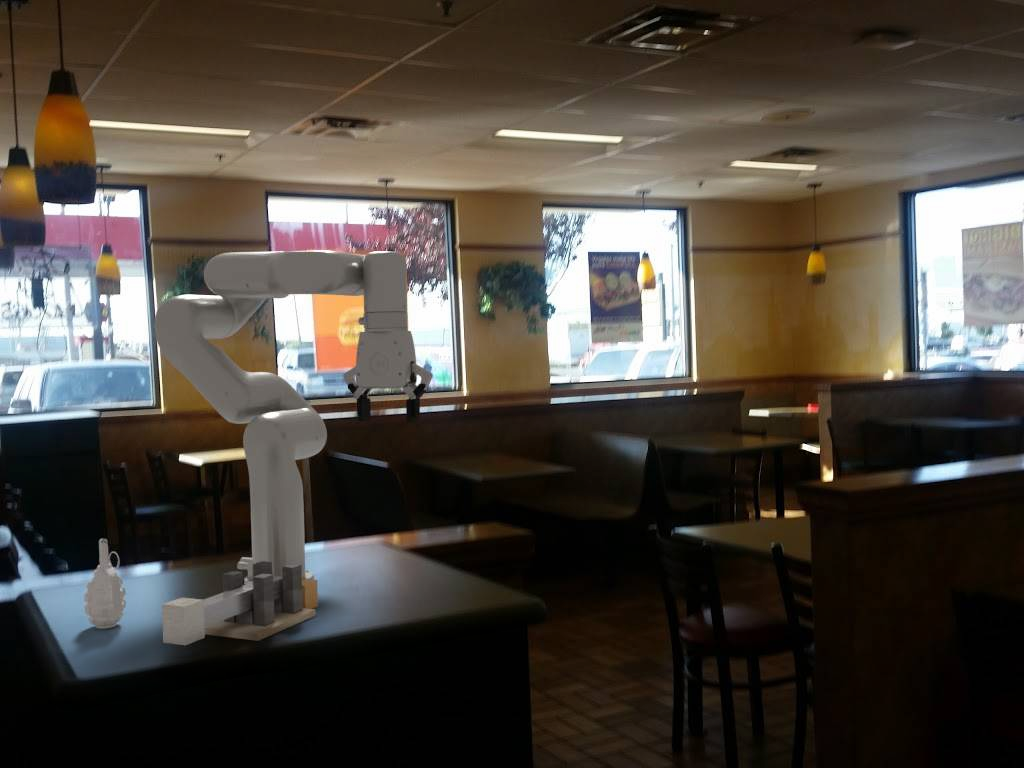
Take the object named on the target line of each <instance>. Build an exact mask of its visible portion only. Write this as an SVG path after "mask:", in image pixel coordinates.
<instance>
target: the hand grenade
mask: <svg viewBox="0 0 1024 768" xmlns="http://www.w3.org/2000/svg"><path fill="white" fill-rule="evenodd" d="M98 550H99V551H98V552H99V559H98V561H99V564H98V565H97V567H96V569H95V570H94V571H93V577H92V578H90V580H89V581H88V582H87V584H86V589H87V591H86V592H85V593H84V597H83V601H84V602H86V605H85V606H84V613H85V615H87V616H89V617H88V619H87V621H88V622H89V624H91V625H93V626H95V628H96V629H99V630H101V629H103V630H104V629H110V628H114V627H116V626H117V625H118V622H120V621H121V619H122V618H123V616H124V613H123V612H124V609H125V608H126V606H127V600H126V599H124V598H125V596H126V594H127V593H126V588H125V587H124V586H123V585H122V584H123V583H124V582H123V580H122V577H121V576H119V574H118V573H117V571H116V570H118V569H119V567H120V563H121V562H120V557H119V555H118V553H117V552H116V551H111V552H110V553H109V545H108V539H107V538H100V539H99V540H98ZM112 554H115V555H116V557H117V560H118V561H117V564H116V567H114V565H112V561H111V555H112Z"/></svg>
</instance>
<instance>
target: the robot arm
mask: <svg viewBox="0 0 1024 768" xmlns="http://www.w3.org/2000/svg"><path fill="white" fill-rule="evenodd" d="M407 271H408V270H407V259H406V257H405V255H404V254H403V253H402V252H399V251H390V250H388V251H385V250H384V251H381V250H379V251H378V250H377V251H372V252H368V253H366V254H360V253H354V252H353V253H351V252H346V251H345V252H344V251H337V250H336V251H335V250H293V251H292V250H290V251H288V250H287V251H284V250H280V251H276V250H275V251H243V252H241V251H239V252H224V253H220V254H217V255H215V256H213V257H212V258H211V259H209V260H208V262H207V263H206V265H205V267H204V271H203V279H204V283H205V285H206V287H207V288H208V289H209V290H210V291H211V292H212V293H213V294H215V295H212V294H211V295H207V294H206V295H205V294H181V295H175V296H172V297H170V298H167V299H166V300H164V301H163V302H162V303H161V304H160V305H159V307H158V308H157V310H156V312H155V317H154V334H155V338H156V342H157V345H158V347H159V349H160V350H161V353H162V355H163V356H164V357H165V359H167V361H168V362H169V363H170V364H171V365H172V366H173V367H174V368H175V369H176V370H177V371H178V372H179V373H181V375H182V376H184V377H185V378H186V379H187V380H188V381H189V383H191V384H192V386H193V387H194V388H195V389H196V390H197V392H198V393H199V394H201V396H202V397H203V398H204V399H205V400H206V401H207V402H208V404H210V405H211V406H212V407H213V409H214V410H215V411H216V413H218V414H219V415H220V416H221V417H222V418H223V419H225V421H227V422H228V423H231V424H236V425H237V424H238V425H241V424H242V425H244V424H247V425H246V427H245V430H244V432H243V436H242V437H243V438H242V439H243V440H242V443H243V444H242V445H243V450H244V455H245V459H246V463H247V468H248V476H249V477H248V479H249V495H250V497H249V498H250V499H249V500H250V523H251V524H250V525H251V529H250V530H251V557H248V556H247V557H245V556H242V557H241V558H240V559H239V562H237V564H236V567H237V569H238V570H247V575H246V576H245V577H244V578H243V585H246V584H248V583H251V582H253V564H255V563H258V562H261V561H265V562H272V575H273V576H282V567H283V566H286V565H289V564H300V565H301V570H302V579H309V580H315V574H314V572H313V571H310V570H307V569H306V555H305V554H306V551H305V549H306V548H305V545H306V544H305V540H306V539H305V512H304V511H305V510H304V509H305V508H304V507H305V506H304V504H305V503H304V487H303V479H302V477H301V476H302V475H301V473H300V471H299V468H298V465H297V463H296V461H298V460H303V459H307V458H311V457H313V456H315V455H317V454H319V453H320V452H321V451H322V450H323V448H324V447H325V445H326V444H327V443H326V442H327V438H328V431H327V428H326V424H325V422H324V419H323V417H321V415H320V414H319V413H318V412H317V410H315V409H314V407H313V406H312V405H311V404H310V403H309V402H308V401H307V400H306V399H305V398H304V397H303V396H302V395H301V394H300V393H299V392H298V391H297V390H296V389H295V388H294V387H293V386H292V385H291V384H290V383H289V382H288V381H287V380H286V379H285V378H283V377H281V376H279V375H277V374H276V373H274V372H273V373H272V372H267V371H266V372H265V371H258V372H257V371H255V372H251V371H246V370H244V369H242V368H241V367H240V366H239V365H238V364H237V363H236V362H235V361H233V360H232V358H231V357H230V356H229V355H228V354H227V353H226V352H225V351H224V350H223V349H221V348H219V347H218V346H216V345H215V344H213V343H211V342H209V340H220V339H223V340H224V339H227V338H229V337H231V336H233V335H234V334H236V333H237V332H238V331H240V329H242V327H243V326H244V325H245V324H246V323H247V322H248V321H249V319H250V318H251V317H253V315H255V313H256V312H257V311H258V310H259V309H260V307H261V306H262V304H264V302H266V300H267V299H285V298H287V297H288V296H289V295H329V296H331V295H334V296H335V295H336V296H347V297H349V296H351V297H357V296H358V297H359V296H363V316H361V317H359V318H358V324H359V326H363V328H364V329H363V330H364V331H359V336H358V342H357V347H356V359H355V366H354V367H353V368H351V369H349V370H347V371H346V372H344V374H342V375H343V376H342V378H343V379H344V382H345V384H346V385H347V389H348V390H349V391H350V392H351V394H352V395H353V396H352V397H353V398H354V399H355V400H356V415H357V420H358V422H362V423H363V422H368V421H370V420H371V419H372V417H371V415H372V414H371V411H372V410H371V408H372V406H371V398H370V397H368V396H369V394H370V393H371V392H372V391H373V389H379V390H381V389H382V390H383V389H390V390H392V389H394V390H395V389H402V390H403V391H404V393H405V394H406V395H407V397H408V398H407V399H406V400H405V405H406V406H405V407H406V408H405V409H406V410H405V411H406V412H405V413H406V423H409V424H411V423H416V422H417V423H418V422H419V420H420V419H419V418H420V416H421V402H420V401H421V399H422V398H423V395H424V394H425V393H426V391H427V390H428V389H429V386H430V384H431V381H432V379H433V377H434V374H433V373H432V372H431V371H429V370H427V369H425V367H422V366H420V365H418V364H417V356H416V348H415V343H414V339H413V338H414V337H413V335H412V331H411V330H409V326H408V325H409V323H408V319H409V318H408V315H409V314H408V280H407V279H408V278H407V276H408V275H407V273H408V272H407ZM418 376H419V377H420V378H421V380H420V382H419V384H418V385H416V384H417V380H418Z"/></svg>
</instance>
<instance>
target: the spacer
mask: <svg viewBox="0 0 1024 768" xmlns="http://www.w3.org/2000/svg"><path fill="white" fill-rule="evenodd" d="M318 591H319V590H318V579H314V580H309V579H302V606H303V608H308V609H312V608H313V609H314V607H315V608H317V607H318V606H319V599H318V593H319V592H318ZM316 606H317V607H316Z"/></svg>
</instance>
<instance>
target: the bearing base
mask: <svg viewBox="0 0 1024 768" xmlns="http://www.w3.org/2000/svg"><path fill="white" fill-rule="evenodd" d="M282 578H283V597H281V598H278V599H276V600H274V588H273V575H272V562H265V561H261V562H258V563H255V564H253V599H254V608H253V609H250V610H248V611H245V612H243V613H240V614H238V615H235V616H233V617H230V618H228V619H225V620H222V621H220V622H217V623H215V624H212V625H210V626H207V627H205V628H204V632H205V635H207V636H218V637H223V638H224V637H225V638H233V639H240V640H241V639H242V640H248V641H249V640H250V641H257V642H258V641H261V640H263V639H265V638H268V637H270V636H272V635H275V634H277V633H279V632H282V631H283V630H285V629H289V628H291V627H293V626H295V625H297V624H299V623H301V622H304V621H306V620H308V619H311V618H313V617H315V616H316V615H317V612H316V610H317V609H314V608H313V609H308V608H303V606H302V570H301V565H300V564H289V565H286V566H283V567H282ZM243 585H244V573H243V571H235V570H234V571H233V570H231V571H228V572H225V573H222V593H223V592H226V591H229V590H232V589H234V588H237V587H240V586H243Z"/></svg>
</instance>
